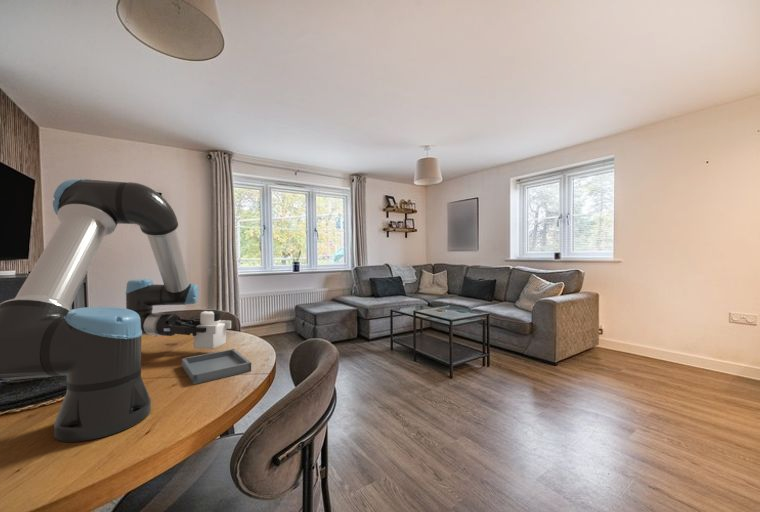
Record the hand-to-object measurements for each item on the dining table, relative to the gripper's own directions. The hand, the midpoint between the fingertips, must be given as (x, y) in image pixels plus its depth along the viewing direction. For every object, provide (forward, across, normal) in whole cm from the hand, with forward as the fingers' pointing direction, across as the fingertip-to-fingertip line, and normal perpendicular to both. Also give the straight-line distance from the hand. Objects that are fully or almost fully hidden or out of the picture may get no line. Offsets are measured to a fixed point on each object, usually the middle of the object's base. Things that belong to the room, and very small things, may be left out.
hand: (223, 327), depth 107 cm
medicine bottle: (-5, 0, -7) cm, 8 cm away
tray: (+6, +12, -10) cm, 16 cm away
